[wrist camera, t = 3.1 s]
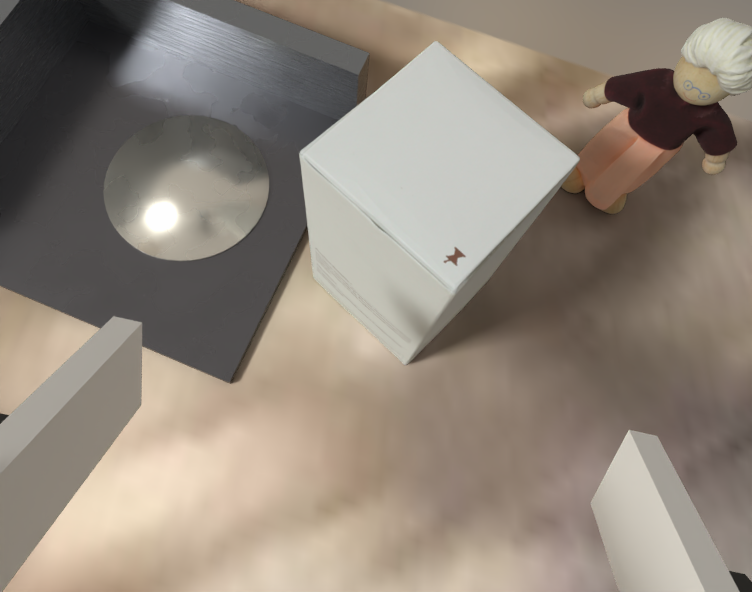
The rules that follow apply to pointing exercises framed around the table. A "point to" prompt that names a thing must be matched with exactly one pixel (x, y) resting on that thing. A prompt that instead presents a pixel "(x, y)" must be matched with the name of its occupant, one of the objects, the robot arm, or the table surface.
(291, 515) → the table surface
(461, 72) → the supplement box
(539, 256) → the table surface
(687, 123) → the grandmother figurine
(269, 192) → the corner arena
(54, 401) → the robot arm
